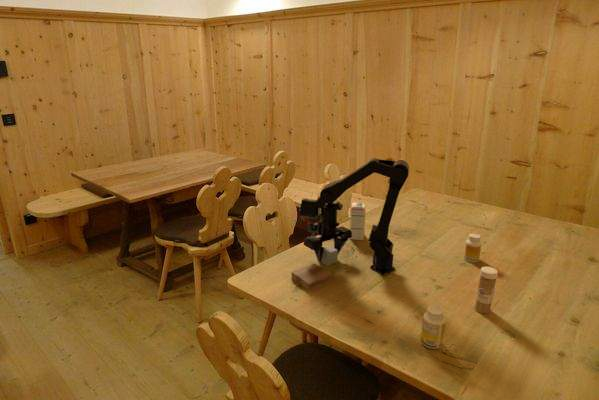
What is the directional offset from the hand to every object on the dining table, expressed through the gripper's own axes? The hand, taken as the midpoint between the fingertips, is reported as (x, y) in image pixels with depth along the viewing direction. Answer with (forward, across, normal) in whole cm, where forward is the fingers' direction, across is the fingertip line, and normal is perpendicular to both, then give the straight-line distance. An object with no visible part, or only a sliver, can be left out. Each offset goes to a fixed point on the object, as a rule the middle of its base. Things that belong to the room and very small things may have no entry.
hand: (327, 258), depth 149 cm
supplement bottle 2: (+1, -44, +31) cm, 54 cm away
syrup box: (+1, -24, -9) cm, 26 cm away
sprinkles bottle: (+1, -17, +51) cm, 54 cm away
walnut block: (+2, +13, +7) cm, 15 cm away
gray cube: (+1, 0, 0) cm, 1 cm away
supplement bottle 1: (+1, +8, +51) cm, 52 cm away
